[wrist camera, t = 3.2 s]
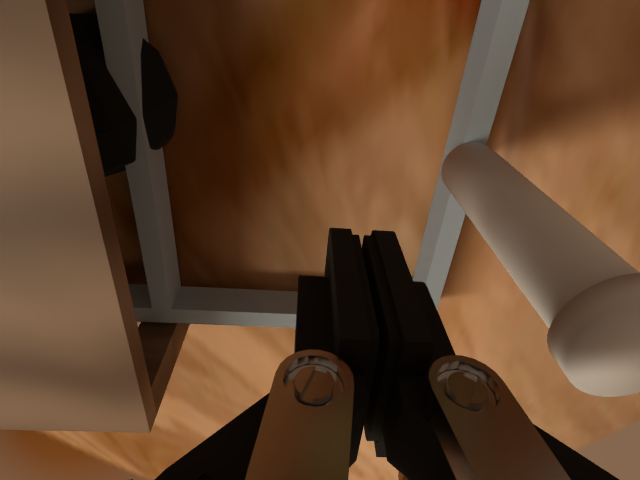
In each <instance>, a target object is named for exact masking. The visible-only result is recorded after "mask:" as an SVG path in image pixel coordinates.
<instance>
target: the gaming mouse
mask: <svg viewBox="0 0 640 480" xmlns="http://www.w3.org/2000/svg"><path fill="white" fill-rule="evenodd" d="M69 16H70V20H71V25H72V30H73V34H74V39H75V43H76V48H77V52H78V57H79V62H80V66H81V71H82V75H83V80H84V84H85V89H86V93H87V98H88V103H89V107H90V112H91V116H92V121H93V125H94V130H95V134H96V139H97V144H98V148H99V153H100V157H101V162H102V166H103V171H104V176H109V175H112V174H115V173H118V172H121V171H124V170H126V167H125V166H126V165H128V164H131V163H133V162H134V161H135V160H136V139H137V118H136V116H135V115H134V113H133V111H132V110H131V108H130V106H129V105H128V103H127V101H126V99H125V98H124V96H123V94H122V93H121V91H120V89H119V88H118V86H117V84H116V82H115V81H114V79H113V77H112V76H111V74H110V72H109V71H108V69H107V66H106V61H105V55H104V50H103V45H102V39H101V34H100V29H99V23H98V18H97V14H89V15H82V14H69ZM140 54H141V83H142V115H143V120H144V125H145V129H146V133H147V137H148V142H149V146H150V148H151V149H152V150H159V149H161V148H162V147H163V146H164V145H166V143H167V142H168V141H169V140H170V139H171V138H172V136H173V134H174V130H175V122H176V110H177V98H178V94H177V91H176V89H175V86H174V84H173V82H172V80H171V77H170V75H169V73H168V70H167V68H166V66H165V64H164V61H163V59H162V57H161V55H160V53H159V51H158V50H157V49H155V48H154V47H153V46H152V45H151V44H150V43H148V42H147V41H146V40H145V39H144V38H143V40H142V47H141V53H140Z"/></svg>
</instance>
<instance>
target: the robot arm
mask: <svg viewBox="0 0 640 480" xmlns="http://www.w3.org/2000/svg"><path fill="white" fill-rule="evenodd" d="M363 426H364V429H365V436H366V440H367V441H374V444H375V450H376V457H387V461H388V462H389V463H390V464H391V465H393V466H394V467H395V468H396V469H397V470H398V471H399V474H398V477H399V480H619V479H617V478H616V477H614V476H613V475H611V474H610V473H608V472H607V471H605V470H604V469H602V468H600V467H599V466H597V465H596V464H594V463H593V462H591V461H590V460H588V459H587V458H585V457H583V456H582V455H580V454H579V453H577V452H576V451H574V450H573V449H571V448H570V447H568V446H566V445H565V444H563V443H562V442H560V441H559V440H557V439H556V438H554V437H553V436H551V435H549V434H548V433H546V432H545V431H543V430H542V429H540V428H539V427H537V426H536V425H534V424H532V422H531V421H530V419H529V418H528V416H527V415H526V413H525V412H524V410H523V409H522V407H521V406H520V405H519V403H518V402H517V400H516V399H515V397H514V396H513V394H512V393H511V391H510V390H509V389H508V387H507V386H506V384H505V383H504V381H503V380H502V379H501V378H500V377H499V376H498V374H497V373H496V372H495V371H493V370H492V369H491V368H489V367H488V366H487V365H485V364H483V363H481V362H479V361H477V360H475V359H473V358H469V357H465V356H460V355H455V353H454V350H453V348H452V345H451V343H450V340H449V338H448V336H447V333H446V331H445V328H444V326H443V324H442V321H441V319H440V316H439V314H438V311H437V309H436V307H435V304H434V302H433V299H432V297H431V294H430V292H429V290H428V287H427V285H426V284H425V283H424V282H419V281H413V280H412V277H411V274H410V272H409V269H408V266H407V264H406V261H405V258H404V256H403V253H402V250H401V247H400V245H399V242H398V239H397V237H396V234H395V232H393V231H377V230H373V231H372V233H371V236H369V235H365V236H364V238H363V244H362V248H361V243H360V238H359V235H352V231H351V229H341V228H330V229H329V236H328V246H327V256H326V266H325V276H324V277H319V276H299V278H298V294H297V311H296V331H295V352H294V354H292V355H290V356H288V357H287V358H286V359H285V360H284V361H283V362H282V363H280V365H279V367H278V369H277V371H276V373H275V376H274V380H273V383H272V387H271V390H270V393H269V394H267V395H266V396H264V397H263V398H262V399H260V400H259V401H258V402H256V403H255V404H254V405H252V406H251V407H250V408H248V409H247V410H245V411H244V412H243V413H241V414H240V415H239V416H237V417H236V418H235V419H233V420H232V421H231V422H229V423H228V424H226V425H225V426H224V427H222V428H221V429H220V430H218V431H217V432H216V433H214V434H213V435H212V436H210V437H209V438H207V439H206V440H205V441H203V442H202V443H201V444H199V445H198V446H197V447H195V448H194V449H193V450H191V451H190V452H189V453H187V454H186V455H184V456H183V457H182V458H180V459H179V460H178V461H176V462H175V463H174V464H172V465H171V466H170V467H168V468H167V469H166V470H165V471H163V472H162V473H161V474H160V475H159V476H158V477H157V478H156V479H155V480H348V474H349V467H350V466H351V465H352V464H353V463H354V462H355V461H356V459H357V454H358V450H359V445H360V440H361V435H362V431H363ZM131 480H133V479H131Z"/></svg>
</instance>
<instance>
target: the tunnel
mask: <svg viewBox="0 0 640 480" xmlns="http://www.w3.org/2000/svg"><path fill="white" fill-rule="evenodd" d="M189 325H190V324H188V323H162V322H141V323H140V325H139V327H138V326H137V321H136V317H135V312H134V308H133V303H132V299H131V294H130V290H129V285H128V280H127V276H126V271H125V267H124V262H123V258H122V253H121V249H120V244H119V239H118V235H117V230H116V226H115V221H114V217H113V212H112V207H111V203H110V198H109V194H108V189H107V185H106V180H105V176H104V171H103V166H102V162H101V157H100V153H99V148H98V144H97V139H96V134H95V130H94V125H93V121H92V116H91V112H90V107H89V103H88V98H87V93H86V89H85V84H84V80H83V75H82V71H81V66H80V62H79V57H78V52H77V48H76V43H75V39H74V34H73V30H72V25H71V20H70V16H69V11H68V7H67V2H66V0H0V429H6V430H8V429H9V430H49V431H93V432H136V433H150V432H151V429H152V426H153V423H154V421H155V418H156V415H157V412H158V410H159V407H160V404H161V401H162V399H163V396H164V393H165V390H166V388H167V385H168V382H169V379H170V377H171V374H172V371H173V368H174V366H175V363H176V360H177V357H178V355H179V352H180V349H181V346H182V344H183V341H184V338H185V335H186V333H187V330H188V327H189Z"/></svg>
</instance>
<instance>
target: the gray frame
mask: <svg viewBox="0 0 640 480" xmlns="http://www.w3.org/2000/svg"><path fill="white" fill-rule="evenodd" d="M529 1H530V0H482V1H481V5H480V9H479V13H478V17H477V21H476V25H475V29H474V33H473V38H472V42H471V46H470V50H469V54H468V58H467V62H466V66H465V70H464V74H463V78H462V82H461V86H460V90H459V94H458V98H457V102H456V107H455V111H454V115H453V119H452V123H451V127H450V131H449V135H448V139H447V143H446V147H445V151H444V155H443V159H442V163H441V167H440V172H439V176H438V180H437V184H436V188H435V192H434V196H433V200H432V204H431V208H430V212H429V216H428V220H427V224H426V228H425V232H424V236H423V241H422V245H421V249H420V253H419V257H418V261H417V265H416V269H415V273H414V277H413V281H419V282H424V283H425V284H426V285H427V287H428V290H429V292H430V294H431V297H432V299H433V302H434V304H435V307H436V309H437V308H438V305H439V301H440V298H441V295H442V291H443V288H444V285H445V281H446V278H447V275H448V271H449V268H450V265H451V261H452V258H453V255H454V251H455V248H456V245H457V241H458V238H459V235H460V231H461V228H462V225H463V221H464V218H465V215H466V214H467V216H468V217H469V219H470V220H471V221H472V223H473V224H474V225H475V227H476V228H477V230H478V231H479V232H480V234H481V235H482V237H483V238H484V239H485V241H486V242H487V243H488V245H489V246H490V248H491V249H492V250H493V252H494V253H495V255H496V256H497V257H498V259H499V260H500V261H501V263H502V264H503V266H504V267H505V268H506V270H507V271H508V273H509V274H510V275H511V277H512V278H513V279H514V281H515V282H516V284H517V285H518V286H519V288H520V289H521V291H522V292H523V293H524V295H525V296H526V297H527V299H528V300H529V302H530V303H531V304H532V306H533V307H534V309H535V310H536V311H537V313H538V314H539V315H540V317H541V318H542V320H543V321H544V322H545V324H546V325H547V327H548V328H549V331H548V335H547V343H548V348H549V351H550V352H551V354H552V356H553V357H554V359H555V360H556V362H557V363H558V364H559V366H560V367H561V369H562V370H563V372H564V373H565V375H566V376H567V378H568V379H569V381H570V382H571V383H572V384H573V385H574V386H575V387H576V388H577V389H579V390H581V391H583V392H585V393H588V394H591V395H596V396H605V397H616V396H625V395H631V394H635V393H639V392H640V273H639V272H638V271H637V270H636V269H634V268H633V267H632V266H631V265H630V264H628V263H627V262H626V261H625V260H624V259H622V258H621V257H620V256H619V255H618V254H617V253H615V252H614V251H613V250H612V249H611V248H609V247H608V246H607V245H606V244H605V243H603V242H602V241H601V240H600V239H599V238H597V237H596V236H595V235H594V234H593V233H591V232H590V231H589V230H588V229H587V228H585V227H584V226H583V225H582V224H581V223H579V222H578V221H577V220H576V219H575V218H573V217H572V216H571V215H570V214H569V213H567V212H566V211H565V210H564V209H563V208H561V207H560V206H559V205H558V204H557V203H556V202H554V201H553V200H552V199H551V198H550V197H548V196H547V195H546V194H545V193H544V192H542V191H541V190H540V189H539V188H538V187H536V186H535V185H534V184H533V183H532V182H530V181H529V180H528V179H527V178H526V177H524V176H523V175H522V174H521V173H520V172H518V171H517V170H516V169H515V168H514V167H512V166H511V165H510V164H509V163H508V162H506V161H505V160H504V159H503V158H502V157H501V156H499V155H498V154H497V153H496V152H495V151H493V150H492V149H491V148H490V147H489V146H487V141H488V138H489V135H490V131H491V128H492V125H493V121H494V118H495V115H496V111H497V108H498V105H499V101H500V98H501V95H502V91H503V88H504V85H505V81H506V78H507V75H508V71H509V68H510V65H511V61H512V58H513V55H514V51H515V48H516V45H517V41H518V38H519V35H520V31H521V28H522V25H523V21H524V18H525V15H526V11H527V8H528V5H529ZM94 2H95V7H96V13H97V18H98V23H99V29H100V34H101V39H102V45H103V50H104V55H105V61H106V66H107V69H108V71H109V72H110V74H111V76H112V77H113V79H114V81H115V82H116V84H117V86H118V88H119V89H120V91H121V93H122V94H123V96H124V98H125V99H126V101H127V103H128V105H129V106H130V108H131V110H132V111H133V113H134V115H135V116H136V118H137V139H136V160H135V161H134V162H133V163H131V164H128V165H126V166H125V167H126V172H127V178H128V183H129V188H130V194H131V199H132V204H133V210H134V215H135V220H136V226H137V231H138V236H139V242H140V247H141V252H142V258H143V263H144V268H145V274H146V279H147V284H148V285H143V284H128V285H129V290H130V294H131V299H132V303H133V308H134V312H135V317H136V321H137V322H162V323H188V324H213V325H238V326H264V327H289V328H296V311H297V294H298V291H277V290H255V289H232V288H210V287H188V286H181V282H180V274H179V267H178V259H177V252H176V244H175V237H174V229H173V222H172V214H171V207H170V199H169V192H168V184H167V177H166V169H165V162H164V154H163V147H162V148H161V149H159V150H152V149H151V148H150V146H149V142H148V137H147V133H146V129H145V125H144V120H143V115H142V83H141V54H140V53H141V47H142V40H143V38H144V39H145V40H146V41H147V42H148V43H149V41H148V34H147V26H146V19H145V11H144V4H143V0H94Z"/></svg>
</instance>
